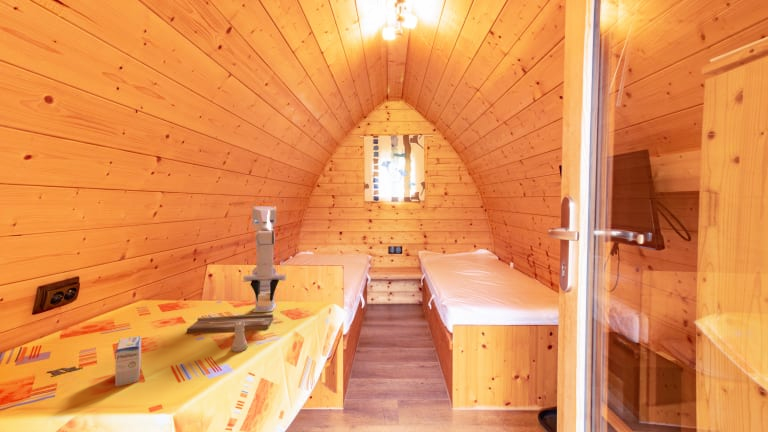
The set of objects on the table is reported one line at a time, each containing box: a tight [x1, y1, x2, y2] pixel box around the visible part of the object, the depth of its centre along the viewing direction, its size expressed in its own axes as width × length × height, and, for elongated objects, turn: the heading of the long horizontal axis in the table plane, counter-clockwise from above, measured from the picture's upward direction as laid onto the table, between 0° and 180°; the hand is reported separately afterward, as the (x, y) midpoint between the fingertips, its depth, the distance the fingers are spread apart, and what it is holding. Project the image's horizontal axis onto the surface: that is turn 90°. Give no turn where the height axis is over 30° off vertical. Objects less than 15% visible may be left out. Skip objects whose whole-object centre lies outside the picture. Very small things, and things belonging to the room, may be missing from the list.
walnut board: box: [186, 313, 274, 334], centre depth 113 cm, size 10×26×2 cm, turn 99°
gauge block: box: [258, 292, 272, 307], centre depth 116 cm, size 5×4×4 cm
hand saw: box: [46, 366, 84, 378], centre depth 88 cm, size 24×5×1 cm, turn 140°
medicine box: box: [114, 335, 142, 387], centre depth 77 cm, size 8×4×9 cm, turn 35°
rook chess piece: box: [231, 321, 248, 353], centre depth 94 cm, size 4×4×8 cm
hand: (265, 300), depth 116 cm, fingers closed on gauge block, 4 cm apart
